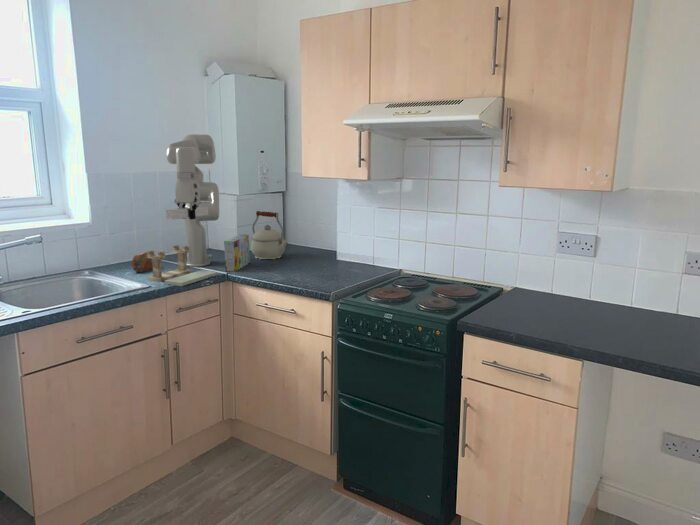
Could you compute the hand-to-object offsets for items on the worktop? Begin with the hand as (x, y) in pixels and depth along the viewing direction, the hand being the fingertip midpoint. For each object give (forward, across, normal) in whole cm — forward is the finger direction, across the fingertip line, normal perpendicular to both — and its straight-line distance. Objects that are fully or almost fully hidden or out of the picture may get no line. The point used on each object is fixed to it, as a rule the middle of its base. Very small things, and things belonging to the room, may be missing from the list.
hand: (188, 218), depth 238 cm
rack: (+27, +12, 0) cm, 30 cm away
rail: (-1, 0, 0) cm, 1 cm away
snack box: (+28, -2, -31) cm, 42 cm away
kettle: (+27, -3, -59) cm, 65 cm away
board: (+27, 0, 0) cm, 27 cm away
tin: (+28, +33, -5) cm, 43 cm away
